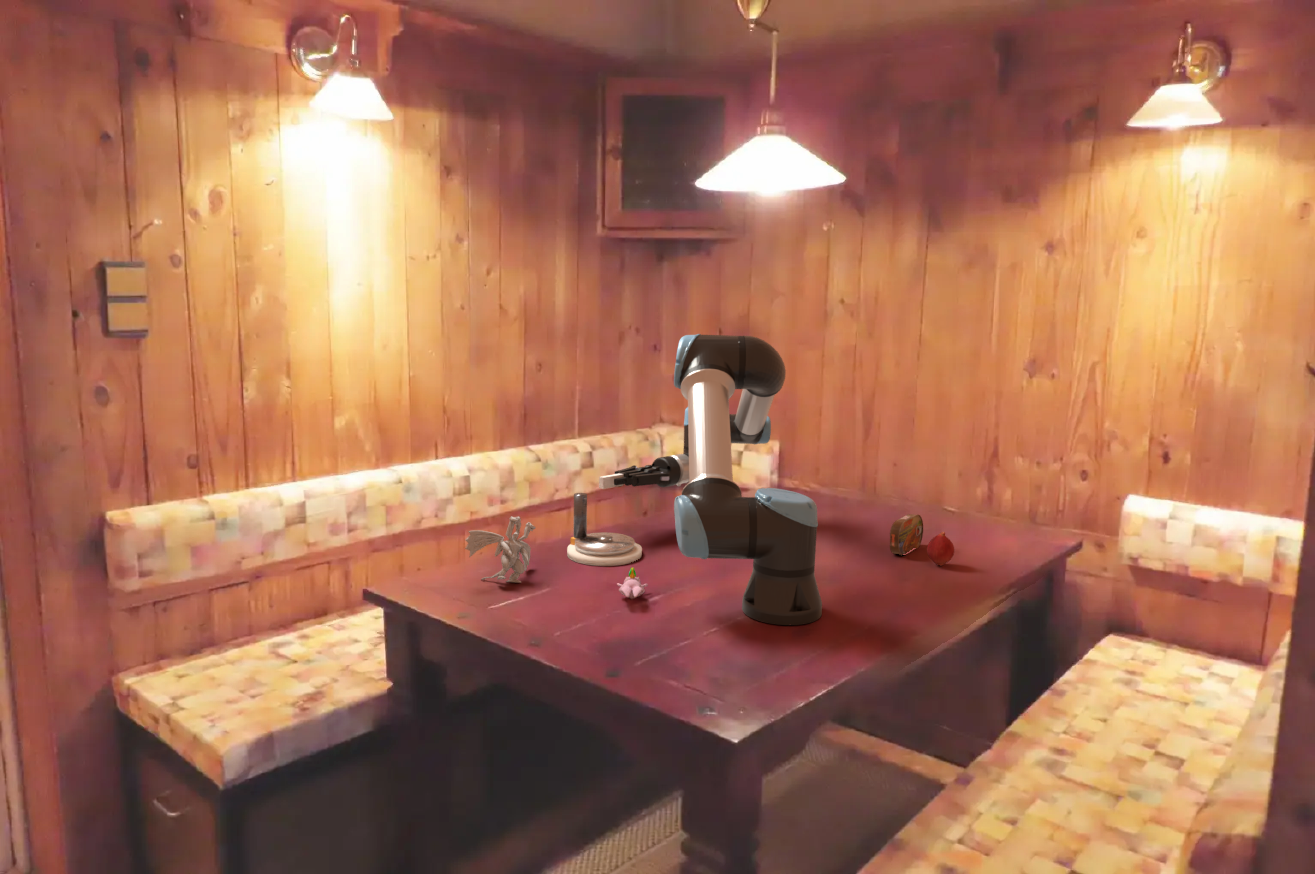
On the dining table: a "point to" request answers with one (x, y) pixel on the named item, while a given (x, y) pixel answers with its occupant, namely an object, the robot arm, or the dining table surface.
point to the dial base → (603, 560)
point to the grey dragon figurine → (505, 548)
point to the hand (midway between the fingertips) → (601, 482)
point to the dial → (596, 534)
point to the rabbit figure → (632, 586)
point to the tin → (906, 534)
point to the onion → (940, 549)
